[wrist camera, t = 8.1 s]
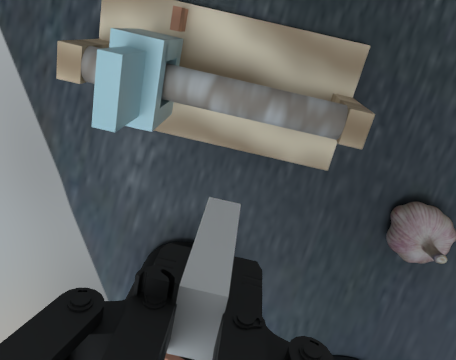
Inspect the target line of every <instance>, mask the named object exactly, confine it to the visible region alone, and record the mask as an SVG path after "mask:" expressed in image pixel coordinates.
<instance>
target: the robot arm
mask: <svg viewBox="0 0 456 360" xmlns="http://www.w3.org/2000/svg"><path fill="white" fill-rule="evenodd" d="M240 207H241V204H239V203H234V202H230V201H225V200H221V199H217V198H212V197H209V199H208V202H207V205H206V208H205V211H204V214H203V217H202V220H201V223H200V226H199V229H198V232H197V235H196V238H195V241H194V244H193V247H192V248H190V247H186V246H181V245H177V244H172V243H168V244H167V245H165V246H164V247H163V248H161V249H160V251H159V254H158V256H157V258H156V260H155V262H154V264H153V266H148V267H145V268H143V269H141V270H139V271H138V272H137V274H136V276H135V283H134V291H133V297H131V298H129V299H126V300H122V301H104V298H103V296H102V295H101V294H100V293H99V292H97V291H96V290H93V289H90V288H76V289H72V290H69V291H67V292H65V293H63V294H62V295H60V296H59V297H58V298H57V299H55V300H54V301H53V302H51V303H50V304H49V305H48V306H47V307H45V308H44V309H43V310H42V311H40V312H39V313H38V314H37V315H35V316H34V317H33V318H32V319H30V320H29V321H28V322H26V323H25V324H24V325H23V326H22V327H20V328H19V329H18V330H17V331H15V332H14V333H13V334H12V335H10V336H9V337H8V338H7V339H5V340H4V341H3V342H2V343H0V360H165V356H166V352H167V353H168V354H172V355H176V356H181V357H185V358H189V359H194V360H357V359H354V358H349V357H342V356H332V354H331V353H330V351H329V350H328V348H327V347H326V346H324V345H323V344H322V343H321V342H319V341H317V340H315V339H313V338H311V337H305V336H300V337H296V338H294V339H293V340H291V342H288V341H286V340H284V339H282V338H280V337H278V336H277V335H275V334H274V333H272V332H271V331H270V330H269V329H268V328H267V326H266V324H265V320H264V319H263V317H262V269H261V268H260V266H259V264H258V263H257V262H256V261H252V260H247V259H243V258H238V257H234V252H235V244H236V237H237V229H238V222H239V214H240Z"/></svg>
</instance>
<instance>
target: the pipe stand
mask: <svg viewBox="0 0 456 360" xmlns="http://www.w3.org/2000/svg"><path fill="white" fill-rule="evenodd" d="M111 28H131V29H144V30H148V31H152V32H157V33H161V34H165V35H170V36H174V37H178V38H182V39H183V45H182V52H181V58H180V65H179V66H176V65H172V64H167V63H166V68H165V75H164V82H163V89H162V96H161V99H163V100H167V101H171V102H174V103H173V110H172V114H171V115H170V116H169V117H168V118H167V119H166V120H164V121H163V122H162V123H161V124H160V125H159V126H158V127H157V128H156V129H154V131H159V132H163V133H167V134H172V135H176V136H180V137H185V138H189V139H193V140H197V141H202V142H206V143H210V144H215V145H219V146H223V147H228V148H232V149H236V150H240V151H245V152H249V153H253V154H258V155H262V156H266V157H271V158H275V159H279V160H283V161H288V162H292V163H296V164H301V165H305V166H309V167H314V168H318V169H322V170H326V171H328V168H329V165H330V162H331V159H332V157H333V154H334V151H335V148H336V145H337V142H338V144H341V145H345V146H349V147H354V148H358V149H362V148H363V146H364V143H365V140H366V138H367V135H368V132H369V130H370V127H371V124H372V122H373V119H374V116H375V114H374V113H373V112H371V111H370V110H369V109H367V108H366V107H364V106H363V105H362V104H360V103H359V102H358V101H356V100H355V99H354V98H353V95H354V92H355V89H356V87H357V84H358V81H359V78H360V75H361V72H362V69H363V66H364V63H365V60H366V57H367V54H368V52H369V49H370V45H365V44H361V43H357V42H352V41H348V40H344V39H339V38H335V37H331V36H326V35H322V34H318V33H314V32H309V31H305V30H301V29H296V28H292V27H288V26H283V25H279V24H275V23H270V22H266V21H262V20H257V19H253V18H249V17H245V16H240V15H236V14H232V13H227V12H223V11H219V10H214V9H210V8H206V7H201V6H197V5H193V4H188V3H184V2H180V1H176V0H102V3H101V17H100V31H99V39H86V40H63V41H58V48H57V79H61V80H65V81H69V82H74V83H78V84H82V83H85V82H90V83H94V84H95V73H96V59H97V49H101V48H109V43H110V31H111Z"/></svg>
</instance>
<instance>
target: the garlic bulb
mask: <svg viewBox="0 0 456 360" xmlns="http://www.w3.org/2000/svg"><path fill="white" fill-rule="evenodd" d="M386 238H387V242H388V245H389V246H390V248H391V249H392V250H393V251H395V252H396V253H398V254H399V256H400V257H401V258H402V259H403V260H405V261H407V262H409V263H415V262H417V263H427V262H430V261H435V262H437V263H439V264H441V263H446V262H447V257H446V256H445V255H446V254H447V253H448V252H449V250H450V247H451V245H452V244H453V243H454V242H455V240H456V231H455V229H454V227H453V223H452V221H451V220H450V218H449V217H447V216H446V215H444V214H443V213H442V212H441V211H440V210H439V209H438V208H436V207H434V206H431V205H426V204H424V203H422V202H417V201H415V202H410V203H407V204H405V205H399V206H397V207H395V208H394V209H393V210H392V212H391V226H390V228H389V230H388V232H387V236H386Z"/></svg>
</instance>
